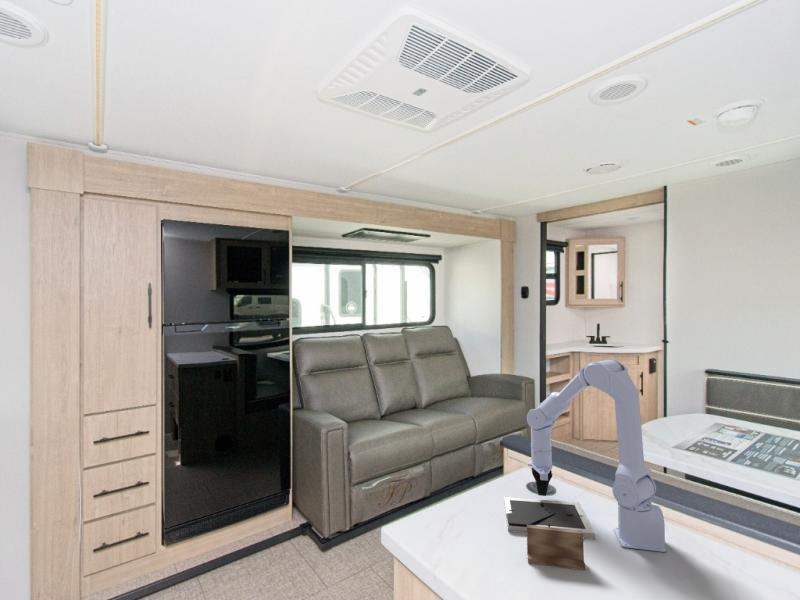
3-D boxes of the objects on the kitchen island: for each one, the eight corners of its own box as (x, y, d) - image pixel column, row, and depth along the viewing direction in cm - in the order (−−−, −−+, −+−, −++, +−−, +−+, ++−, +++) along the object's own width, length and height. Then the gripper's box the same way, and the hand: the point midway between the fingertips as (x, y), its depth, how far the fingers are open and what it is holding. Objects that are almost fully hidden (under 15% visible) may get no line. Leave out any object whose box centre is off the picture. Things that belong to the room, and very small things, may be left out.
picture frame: (508, 533, 105) (594, 541, 101) (507, 522, 105) (594, 530, 101) (504, 504, 120) (579, 509, 117) (504, 494, 120) (578, 499, 117)
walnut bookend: (582, 561, 92) (582, 530, 92) (585, 570, 89) (585, 538, 89) (527, 554, 95) (526, 524, 95) (528, 562, 92) (527, 531, 92)
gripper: (525, 439, 130) (526, 482, 129) (528, 456, 115) (529, 505, 115) (549, 441, 128) (550, 484, 128) (555, 458, 114) (556, 507, 114)
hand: (542, 494), depth 121 cm, fingers closed
